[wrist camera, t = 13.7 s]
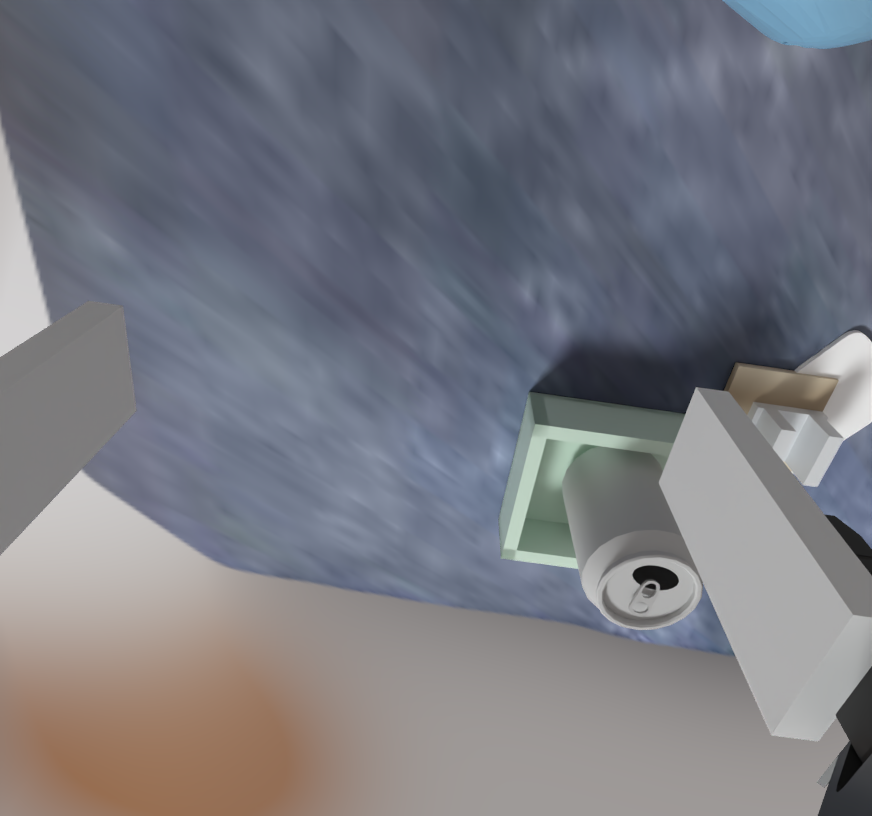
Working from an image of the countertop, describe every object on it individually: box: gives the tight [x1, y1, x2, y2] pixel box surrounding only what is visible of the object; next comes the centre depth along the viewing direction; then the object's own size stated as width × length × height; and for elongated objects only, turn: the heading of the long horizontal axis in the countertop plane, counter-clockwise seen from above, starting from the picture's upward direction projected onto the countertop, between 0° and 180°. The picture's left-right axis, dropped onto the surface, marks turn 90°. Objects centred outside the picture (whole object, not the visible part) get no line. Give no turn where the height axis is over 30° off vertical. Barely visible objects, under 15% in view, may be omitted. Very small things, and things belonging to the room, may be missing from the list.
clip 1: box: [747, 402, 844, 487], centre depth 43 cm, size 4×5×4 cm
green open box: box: [498, 392, 685, 569], centre depth 45 cm, size 12×12×4 cm
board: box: [724, 362, 839, 471], centre depth 46 cm, size 17×7×1 cm, turn 172°
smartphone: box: [791, 330, 872, 474], centre depth 45 cm, size 7×1×15 cm
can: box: [562, 446, 703, 630], centre depth 42 cm, size 8×8×12 cm
